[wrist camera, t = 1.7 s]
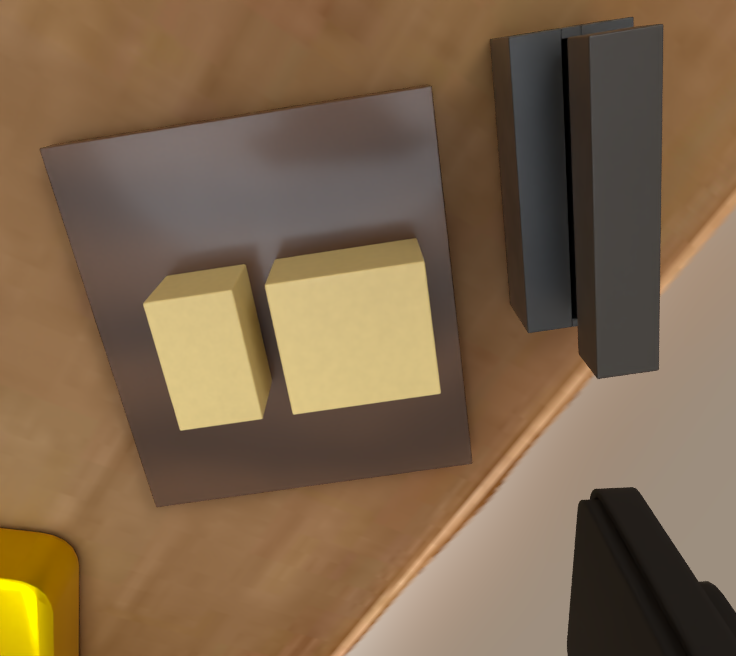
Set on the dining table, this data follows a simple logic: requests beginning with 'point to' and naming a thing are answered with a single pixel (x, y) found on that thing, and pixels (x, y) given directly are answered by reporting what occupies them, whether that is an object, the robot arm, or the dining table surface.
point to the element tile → (38, 595)
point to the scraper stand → (536, 170)
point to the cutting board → (263, 276)
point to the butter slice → (210, 346)
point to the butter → (354, 326)
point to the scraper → (615, 194)
